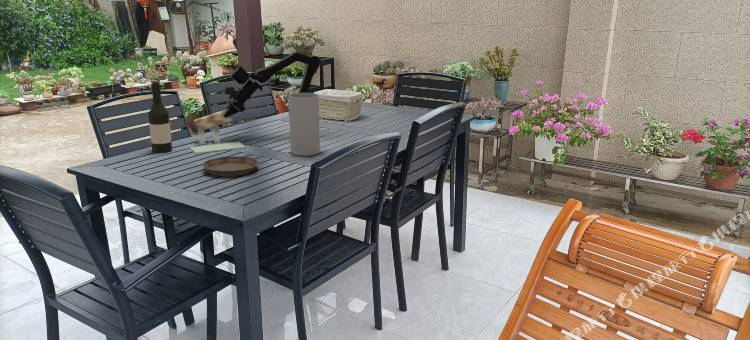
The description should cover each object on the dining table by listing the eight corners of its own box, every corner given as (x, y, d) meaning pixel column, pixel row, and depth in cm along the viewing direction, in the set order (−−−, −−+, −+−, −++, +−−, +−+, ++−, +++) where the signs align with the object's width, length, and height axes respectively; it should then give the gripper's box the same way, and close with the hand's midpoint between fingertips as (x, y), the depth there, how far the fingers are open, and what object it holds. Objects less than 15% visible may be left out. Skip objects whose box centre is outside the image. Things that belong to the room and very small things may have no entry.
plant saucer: (236, 160, 229) (235, 152, 228) (269, 170, 217) (268, 162, 216) (192, 171, 214) (191, 163, 213) (225, 182, 201) (224, 174, 200)
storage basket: (363, 117, 314) (363, 91, 310) (350, 123, 300) (350, 95, 296) (326, 113, 324) (326, 88, 320) (312, 118, 310) (311, 92, 306)
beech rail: (231, 119, 259) (228, 108, 258) (232, 120, 256) (228, 110, 254) (197, 130, 256) (193, 119, 254) (198, 131, 253) (194, 121, 251)
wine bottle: (165, 154, 236) (158, 83, 227) (148, 152, 238) (140, 82, 229) (176, 149, 244) (169, 80, 235) (159, 148, 245) (152, 79, 237)
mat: (239, 142, 256) (239, 141, 256) (245, 147, 248) (245, 146, 247) (190, 148, 245) (190, 147, 245) (195, 153, 237) (195, 152, 237)
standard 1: (204, 140, 260) (202, 123, 258) (205, 144, 253) (204, 126, 251) (198, 140, 259) (197, 123, 257) (199, 144, 252) (198, 127, 250)
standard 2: (218, 139, 262) (217, 122, 260) (220, 143, 255) (218, 126, 253) (213, 139, 261) (211, 122, 259) (214, 143, 254) (213, 126, 252)
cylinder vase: (314, 157, 234) (313, 98, 227) (286, 155, 236) (284, 96, 229) (323, 150, 246) (322, 93, 238) (296, 148, 248) (294, 92, 241)
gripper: (231, 76, 261) (208, 101, 261) (235, 82, 245) (211, 108, 244) (249, 92, 266) (227, 116, 266) (254, 99, 250) (231, 125, 249)
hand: (224, 116), depth 256 cm, fingers closed on beech rail, 3 cm apart
